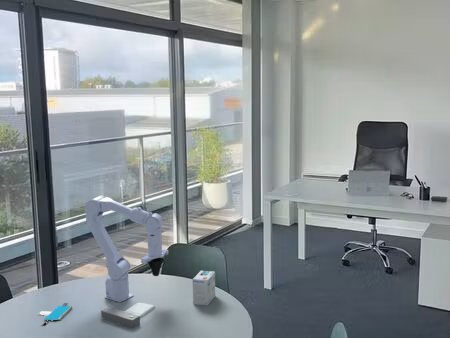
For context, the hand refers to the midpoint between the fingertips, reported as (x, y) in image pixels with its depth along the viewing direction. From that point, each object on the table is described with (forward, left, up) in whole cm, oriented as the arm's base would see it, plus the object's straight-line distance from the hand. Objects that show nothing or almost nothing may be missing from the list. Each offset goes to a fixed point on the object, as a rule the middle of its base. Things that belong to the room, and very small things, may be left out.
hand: (155, 275), depth 195 cm
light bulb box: (+17, +10, -11) cm, 23 cm away
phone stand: (-26, -31, -11) cm, 42 cm away
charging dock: (+1, -22, -10) cm, 25 cm away
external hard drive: (+1, -13, -11) cm, 18 cm away
